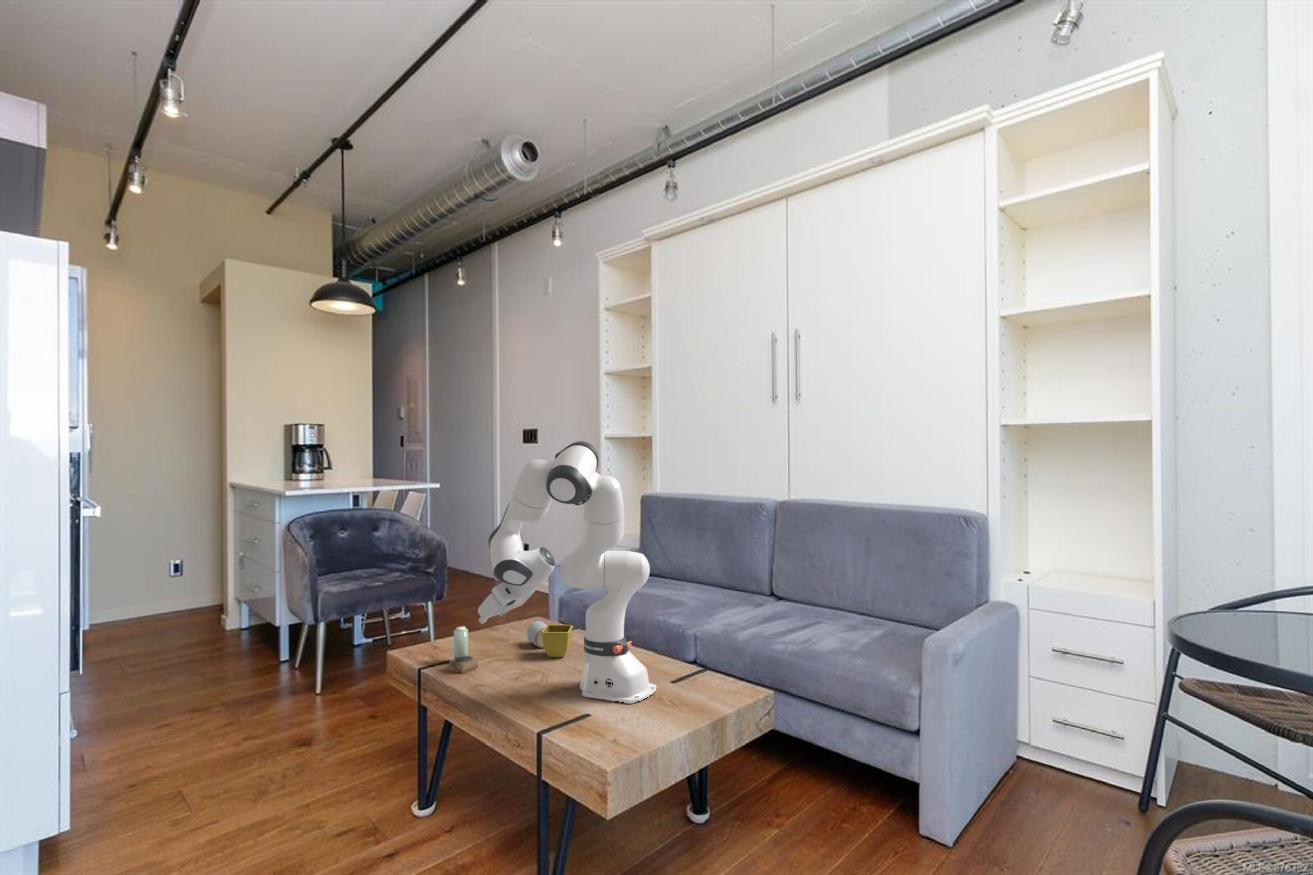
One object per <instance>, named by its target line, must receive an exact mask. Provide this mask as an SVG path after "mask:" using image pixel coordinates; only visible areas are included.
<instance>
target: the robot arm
mask: <svg viewBox="0 0 1313 875" xmlns="http://www.w3.org/2000/svg"><path fill="white" fill-rule="evenodd" d="M599 460H600V459H599V454H598V451H597V449H596V448H595V446H593V445H592V444H591V443H589V442H586V441H582V440H581V441H580V440H579V441H575V442H572V443H570V444H568V445H567V446H565V447H564V448H562V449H561V450H560V451H559V452H558V453H555V455H554V459H553V460H551V461H550V460H549V461H548V460H546V459H542V458H541V459H539V458H536V459H535V458H534V459H532V460H530V461H528V462H527V463H525V465H524V466H523V468H522V470H521V471H520V474H519V476H518V478H517V480H516V482H515V484H514V487H513V490H512V491H511V492H512V493H511V495H510V499H509V502H508V504H507V506H506V508H505V511H504V514H503V516H502V519H501V521H500V523H499V525H498V526H497V527H496V528H494V530H493V531H492V533H491V534H490V535H489V537H488V541H487V543H488V548H489V552H490V559H491V565H492V572H493V576H494V577H495V579H496V580H498V581H499V582H500V583H499V584H497V585H495V586H494V587H493V588H492V589H491V593H490V594H489V595H488V596H487V597H486V598H485V599H484V600H483V601H482V603H481V604H480V605H479V607H478V609H477V612H478V615H479V616H480V617H479V618H478V622H479V623H480V624H481V625H483V624H485V623H486V622H487V621H488V619H490V618H492V617H495V616H498V615H499V617H503V616H505V615H506V614H507V613H508V612H510V611H511V610H514V609H516V608H519V607H521V606H523V605H524V604H525V603H526V601H528V599H529V598H530V597H531V596H533V594H534V593H535V591H536V590H537V588H539V586H541V585H542V584H543V583H544V582H545V581H546V580H547V579H548V578H549V577H550V576H551V574H552V573H553V571H554V570H555V567H556V562H555V558H554V556H553V554H552V553H551V551H550V550H549V549H548V548H546V547H543V546H539V547H537V548H536V549H532V550H524V547H523V538H522V533H521V529H522V527H523V525H524V524H535V523H539V522H540V521H542V520H543V519H544V518H545V517H546V515H547V513H548V511H549V510H550V507H551V504H552V502H553V500H554V501H556V502H558V503H561V504H566V505H574V506H582V505H583V521H584V522H583V535H582V539H581V541H580V543H579V544H578V545H577V546H576V547H575V549H573V550H572V551H570V552H568V553H567V554H566V555H565V556H564V557H563V558H562V561H561V562H560V567H559V573H560V578H561V580H562V582H563V584H564V585H566V587H570V588H573V589H579V590H606V591H607V594H606V595H605V597H603V598H601V599H599V600H597V601H595V602H593V603H592V604H590V606H589V607H588V608H587V610H586V611H585V635H584V637H583V651H584V664H583V669H582V675H581V679H580V682H579V683H580V684H579V689H580V690H581V696H582V697H584V698H591V699H597V700H603V699H604V700H603V701H608V702H609V701H611V702H615V701H619V702H618V703H621V702H624V703H623V704H629V705H631V704H635V702H636V703H638V702H637V701H640V702H642V701H644V700H643V699H645V698H647V697H648V698H650V697H651V696H650V695H652V694H653V693H654V692H655V691H656V692H657V690H656V688H657V685H656V684H654V683H653V682H652V683H651V682H650V679H649V675H648V674H649V672H648V669H647V668H646V666H645V665H644V664H643V663H642V662H640V661H639V659H638V658H636V656H635V655H634V654H633V653H632V652H631V651H630V648H629V646H632V645H633V644H632V640H630V641H627V639H626V636H625V634H624V633H625V617H626V609H627V606H628V604H629V602H630V600H631V598H632V597H633V596H634V594H635V593H636V592H637V591H638V590H640V589H641V588H642V587H644V585H645V584H647V582H648V580H649V577H650V572H651V568H650V563H649V560H648V558H647V557H646V556H645V554H644V553H641V552H635V551H631V550H612V549H614V548H615V547H617V546H618V545H619V544H620V542H621V541H622V540H623V538H624V536H625V509H624V508H625V507H624V506H625V505H624V504H625V503H624V497H623V491H622V487H621V485H620V483H619V481H618V479H617V478H615V477H614V476H610V475H604V474H603V475H602V474H600V473H598V472H597V470H598V467H599V463H600V462H599ZM657 689H658V688H657ZM656 692H655V693H656ZM655 693H654V694H655ZM654 694H653V695H654ZM653 695H652V696H653ZM649 696H650V697H649ZM648 698H647V699H648ZM641 700H642V701H641ZM645 700H646V699H645Z"/></svg>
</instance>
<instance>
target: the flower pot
mask: <svg viewBox="0 0 1313 875" xmlns="http://www.w3.org/2000/svg"><path fill="white" fill-rule="evenodd" d="M546 625H547V626H546V627H545V629H544V630H543V632H542V636H543V645H544V648H543V649H544V653H545V654H546V655H547V657H548V658H561V657H562V658H565V655H566V654H567V652H568V650H569V647H570V644H571V640H572V633H573V625H572V624H546Z"/></svg>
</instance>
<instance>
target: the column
mask: <svg viewBox="0 0 1313 875" xmlns="http://www.w3.org/2000/svg"><path fill="white" fill-rule="evenodd" d="M464 655H466V656H469V629H468V628H467V627H466V626H457V627H456V629H454V630H453V659H455V658H458V657H461V656H464Z"/></svg>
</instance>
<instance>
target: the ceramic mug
mask: <svg viewBox="0 0 1313 875" xmlns="http://www.w3.org/2000/svg"><path fill="white" fill-rule="evenodd" d="M547 625H548V624H546V623H545V622H543V621H540V620H538V621H537V620H536V621H534V622H532V623H531V624H530V625H529V626H528V628H527V631H526V634H527V635H526V637H527V640H529V642H531V643H533V645H535V646H536V647H537V648H540V649H544V645H543V636H542V632H543V630H544V629H545V627H546V626H547Z"/></svg>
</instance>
